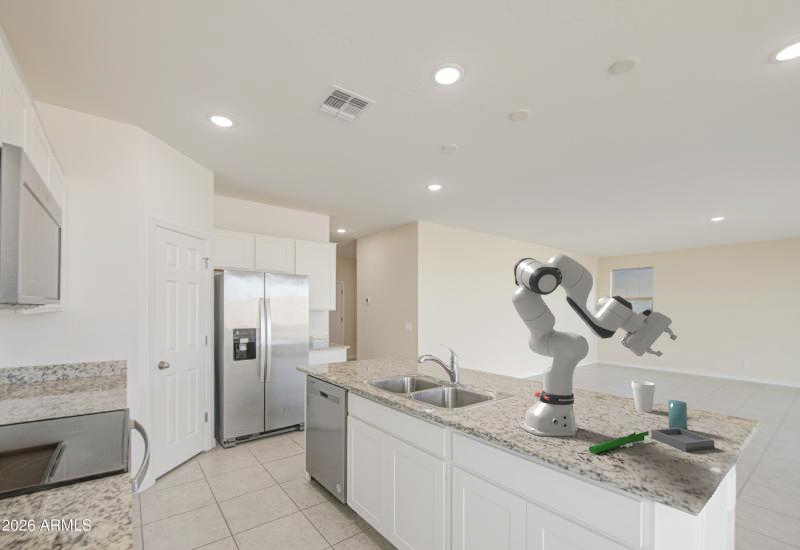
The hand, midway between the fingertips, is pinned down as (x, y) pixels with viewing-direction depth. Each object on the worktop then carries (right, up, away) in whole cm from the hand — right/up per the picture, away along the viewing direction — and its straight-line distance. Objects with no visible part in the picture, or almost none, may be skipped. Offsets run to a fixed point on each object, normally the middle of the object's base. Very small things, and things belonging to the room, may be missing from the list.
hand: (668, 347), depth 144 cm
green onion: (-28, -33, -14) cm, 45 cm away
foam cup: (+10, -36, +29) cm, 47 cm away
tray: (-3, -33, -11) cm, 35 cm away
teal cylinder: (+6, -34, +3) cm, 35 cm away
